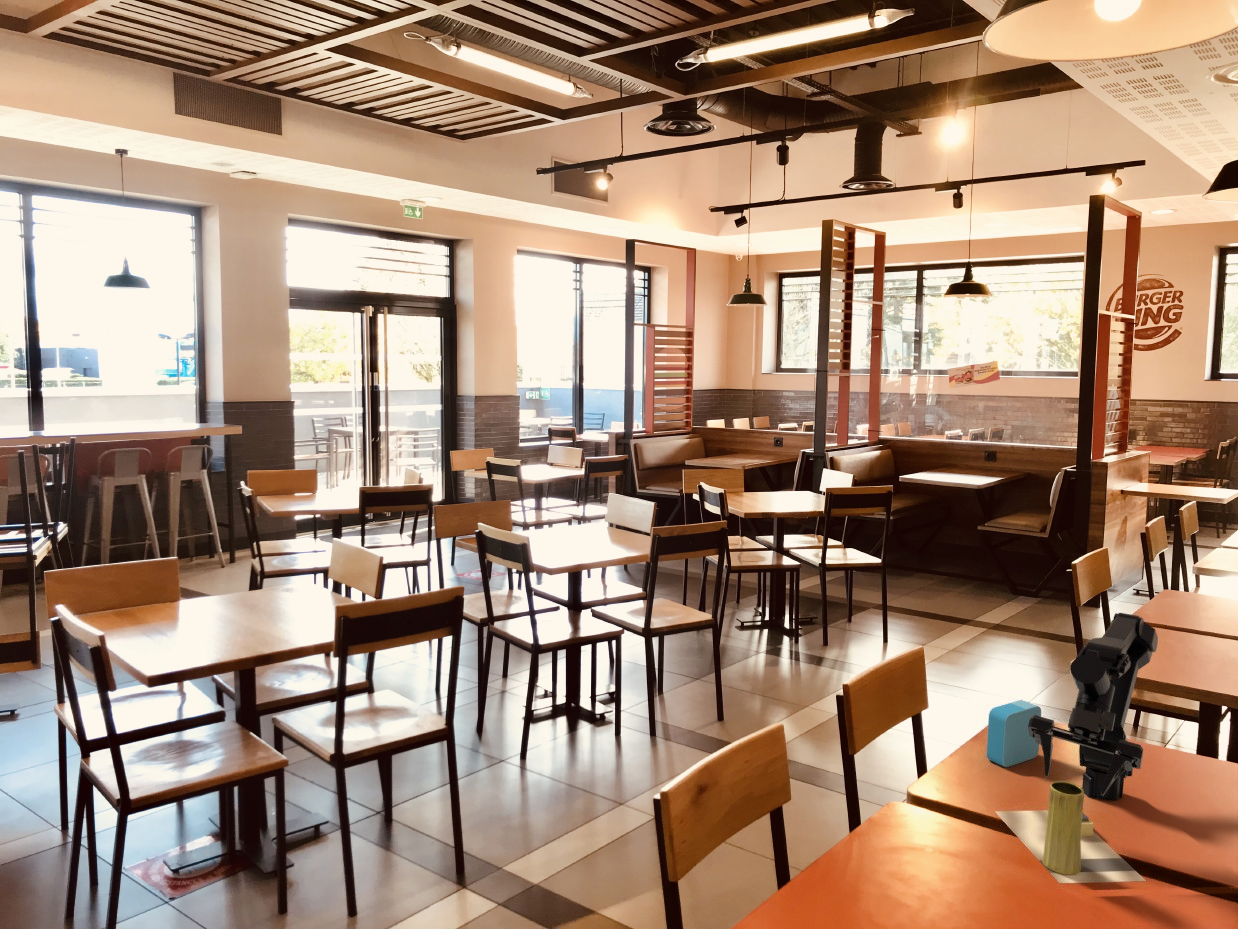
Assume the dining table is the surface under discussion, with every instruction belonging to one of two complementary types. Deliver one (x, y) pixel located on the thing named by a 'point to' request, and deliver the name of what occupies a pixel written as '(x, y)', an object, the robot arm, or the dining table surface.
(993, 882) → the dining table surface
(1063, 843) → the vase
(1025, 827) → the subfloor panel
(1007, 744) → the blue rounded block
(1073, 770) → the dining table surface
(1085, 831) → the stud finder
